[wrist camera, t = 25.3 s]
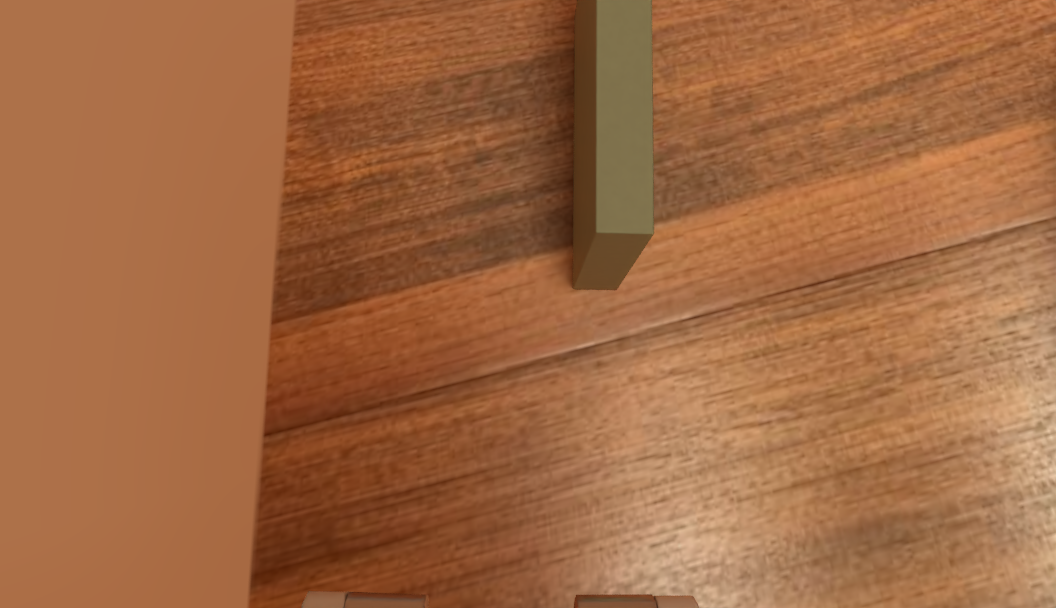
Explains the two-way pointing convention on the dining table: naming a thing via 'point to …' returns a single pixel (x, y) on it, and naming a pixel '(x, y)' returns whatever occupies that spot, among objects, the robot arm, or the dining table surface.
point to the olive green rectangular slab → (612, 140)
